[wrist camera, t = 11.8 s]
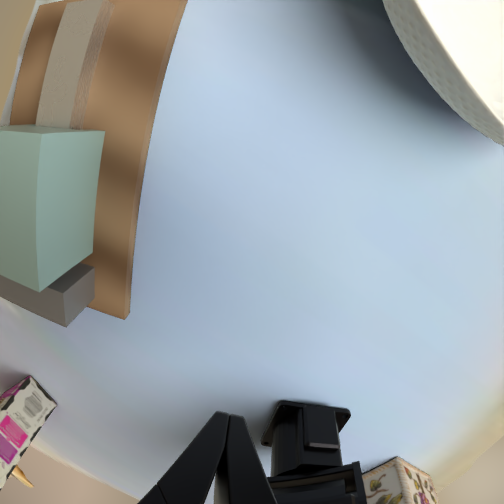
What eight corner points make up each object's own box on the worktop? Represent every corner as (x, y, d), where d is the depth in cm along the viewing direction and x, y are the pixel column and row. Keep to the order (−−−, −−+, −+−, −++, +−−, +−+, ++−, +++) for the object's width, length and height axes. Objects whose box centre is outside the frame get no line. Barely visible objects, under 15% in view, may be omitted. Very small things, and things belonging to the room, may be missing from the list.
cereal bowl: (563, 95, 13) (619, 98, 6) (457, 195, 17) (525, 225, 10) (448, -74, 9) (485, -110, 2) (297, -19, 13) (306, -84, 7)
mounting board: (129, 312, 22) (124, 319, 21) (15, 269, 21) (8, 274, 20) (188, -3, 14) (184, -9, 13) (47, 8, 14) (39, 5, 13)
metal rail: (72, 290, 20) (62, 299, 19) (43, 278, 20) (32, 287, 19) (114, 5, 13) (104, -3, 12) (79, 9, 13) (67, 3, 12)
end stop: (94, 298, 20) (66, 327, 17) (26, 272, 20) (-5, 293, 16) (94, 267, 19) (63, 293, 16) (24, 243, 19) (-10, 262, 16)
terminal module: (92, 252, 19) (39, 292, 13) (26, 231, 19) (-28, 260, 13) (105, 131, 16) (41, 133, 11) (33, 124, 16) (-30, 129, 10)
